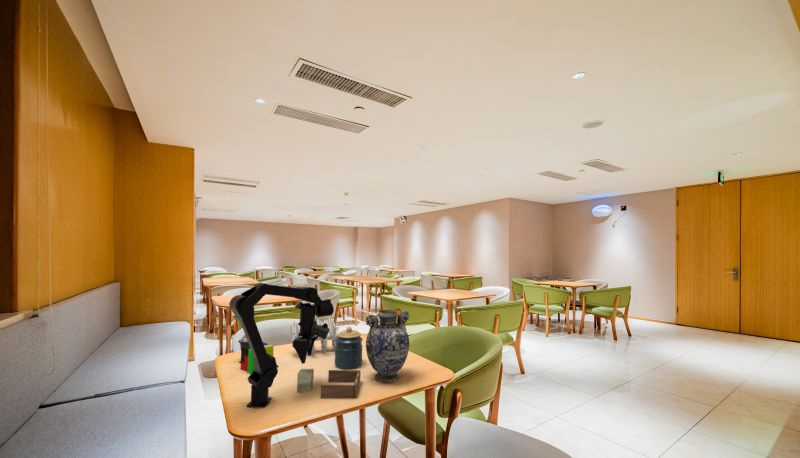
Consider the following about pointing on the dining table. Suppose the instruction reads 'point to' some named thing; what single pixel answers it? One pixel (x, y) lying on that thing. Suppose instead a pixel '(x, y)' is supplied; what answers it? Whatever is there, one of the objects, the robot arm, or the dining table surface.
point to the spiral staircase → (331, 336)
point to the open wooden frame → (341, 390)
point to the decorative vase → (387, 343)
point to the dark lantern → (243, 342)
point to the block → (305, 380)
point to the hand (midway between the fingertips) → (306, 359)
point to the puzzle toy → (251, 357)
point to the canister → (348, 349)
